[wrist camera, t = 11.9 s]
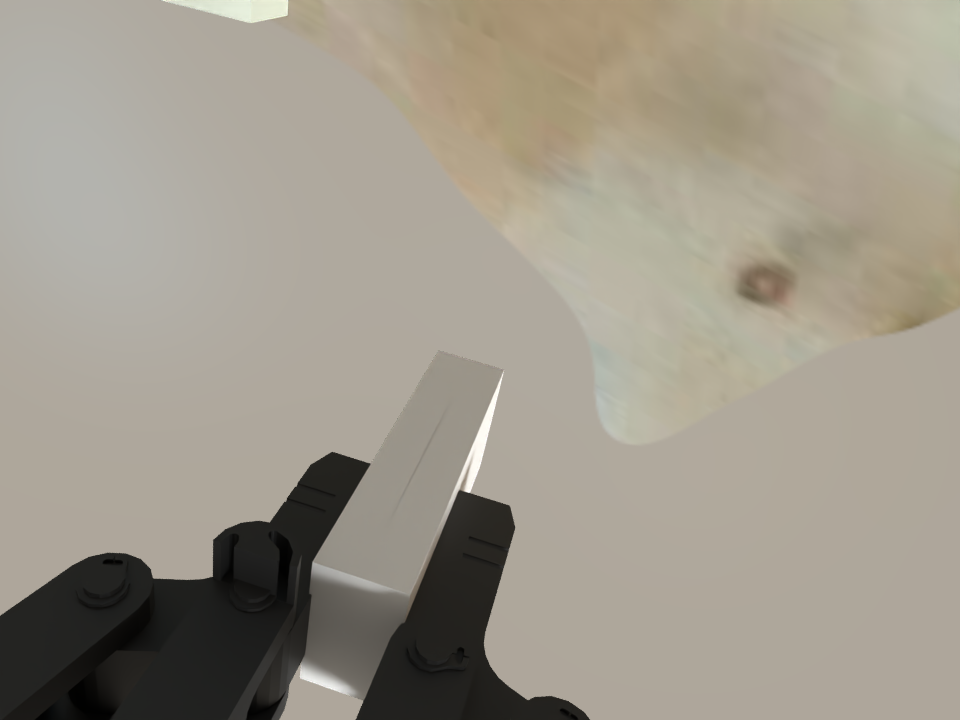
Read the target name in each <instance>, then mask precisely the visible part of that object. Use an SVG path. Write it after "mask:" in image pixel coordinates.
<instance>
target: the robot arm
mask: <svg viewBox="0 0 960 720" xmlns="http://www.w3.org/2000/svg"><path fill="white" fill-rule="evenodd" d="M503 373H504V370H503V369H500V368H497V367H493V366H490V365H487V364H483V363H480V362H476V361H473V360H470V359H466V358H463V357H459V356H456V355H452V354H449V353H446V352H442V351H438V352H437V354H436V355H435V357H434V359H433V360H432V362H431V364H430V365H429V367H428V369H427V371H426V372H425V374H424V376H423V377H422V379H421V380H420V382H419V384H418V386H417V387H416V389H415V391H414V392H413V394H412V396H411V397H410V399H409V401H408V402H407V404H406V406H405V408H404V409H403V411H402V412H401V414H400V416H399V418H398V419H397V421H396V422H395V424H394V426H393V428H392V429H391V431H390V433H389V434H388V436H387V438H386V439H385V441H384V443H383V444H382V446H381V448H380V449H379V451H378V453H377V454H376V456H375V458H374V459H373V461H372V463H371V464H370V463H366V462H363V461H360V460H357V459H354V458H350V457H347V456H344V455H341V454H338V453H335V452H331V453H330V454H328V455H326V456H325V457H323V458H321V459H320V460H318V461H316V462H315V463H313V464H311V465H310V467H309V468H308V469H307V471H306V472H305V474H304V475H303V476H302V478H301V479H300V481H299V482H298V485H297V487H295V488H294V489H293V491H292V492H291V493H290V495H289V496H288V498H287V501H286V502H284V503H283V505H282V506H281V508H280V509H279V510H278V512H277V513H276V515H275V516H274V517H273V519H272V520H271V522H270V523H269V522H263V521H254V522H244V523H240V524H237V525H235V526H233V527H230V528H228V529H225V530H224V531H223V532H222V533H221V534H220V535H218V536H217V537H216V538H215V539H214V540H213V577H210V578H206V579H200V580H174V579H153V577H152V573H151V569H150V568H149V567H148V566H147V565H146V564H145V563H144V562H143V561H142V560H141V559H139V558H136V557H133V556H131V555H128V554H124V553H123V554H122V553H105V554H100V555H96V556H91V557H88V558H86V559H84V560H82V561H80V562H78V563H76V564H74V565H72V566H71V567H69V568H68V569H67V570H65V571H64V572H62V573H61V574H60V575H58V576H57V577H55V578H54V579H52V580H51V581H49V582H48V583H47V584H45V585H44V586H42V587H41V588H39V589H38V590H36V591H35V592H34V593H32V594H31V595H29V596H28V597H27V598H25V599H24V600H22V601H21V602H19V603H18V604H16V605H15V606H14V607H12V608H11V609H9V610H8V611H6V612H5V613H4V614H2V615H1V616H0V720H279V719H280V717H281V715H282V713H283V711H284V709H285V705H286V701H287V698H288V690H289V684H290V682H291V680H292V678H293V676H294V674H295V673H296V671H297V669H298V667H299V665H300V663H301V661H302V663H301V673H300V678H301V679H304V680H306V681H309V682H312V683H315V684H318V685H321V686H324V687H327V688H329V689H332V690H335V691H338V692H341V693H344V694H347V695H350V696H353V697H355V698H358V699H361V700H364V701H363V704H362V706H361V708H360V711H359V713H358V716H357V719H356V720H590V719H589V718H588V717H587V715H586V714H585V713H584V712H583V711H582V710H580V709H579V708H577V707H576V706H575V705H573V704H572V703H570V702H569V701H566V700H563V699H559V698H556V697H552V696H546V697H534V698H532V699H530V700H526V699H525V698H524V697H522V696H521V695H519V694H518V693H517V692H515V691H514V690H513V689H511V688H510V687H508V686H507V685H506V684H505V683H504V682H503V681H502V680H501V679H499V678H498V676H497V675H496V674H495V672H494V671H493V670H492V668H491V667H490V665H489V662H488V660H487V658H486V655H485V650H484V636H485V631H486V627H487V624H488V621H489V617H490V613H491V610H492V606H493V603H494V600H495V596H496V593H497V589H498V586H499V582H500V579H501V575H502V572H503V568H504V565H505V561H506V558H507V554H508V551H509V548H510V544H511V541H512V537H513V534H514V530H515V525H514V521H513V517H512V513H511V508H510V506H509V505H506V504H503V503H500V502H496V501H493V500H490V499H487V498H483V497H480V496H477V495H474V494H471V493H470V491H471V488H472V486H473V483H474V480H475V478H476V475H477V473H478V470H479V467H480V465H481V460H482V457H483V453H484V449H485V445H486V441H487V436H488V433H489V429H490V425H491V420H492V416H493V413H494V408H495V405H496V401H497V397H498V392H499V389H500V385H501V381H502V376H503Z"/></svg>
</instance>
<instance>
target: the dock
mask: <svg viewBox="0 0 960 720" xmlns="http://www.w3.org/2000/svg"><path fill="white" fill-rule="evenodd" d="M162 1H165V2H169V3H174V4H177V5H182V6H185V7H189V8H193V9H197V10H201V11H205V12H209V13H213V14H216V15H221V16H224V17H228V18H232V19H236V20H240V21H244V22H248V23H254V22H259V21H264V20H269V19H274V18H279V17H283V16H288V0H162Z"/></svg>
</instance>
